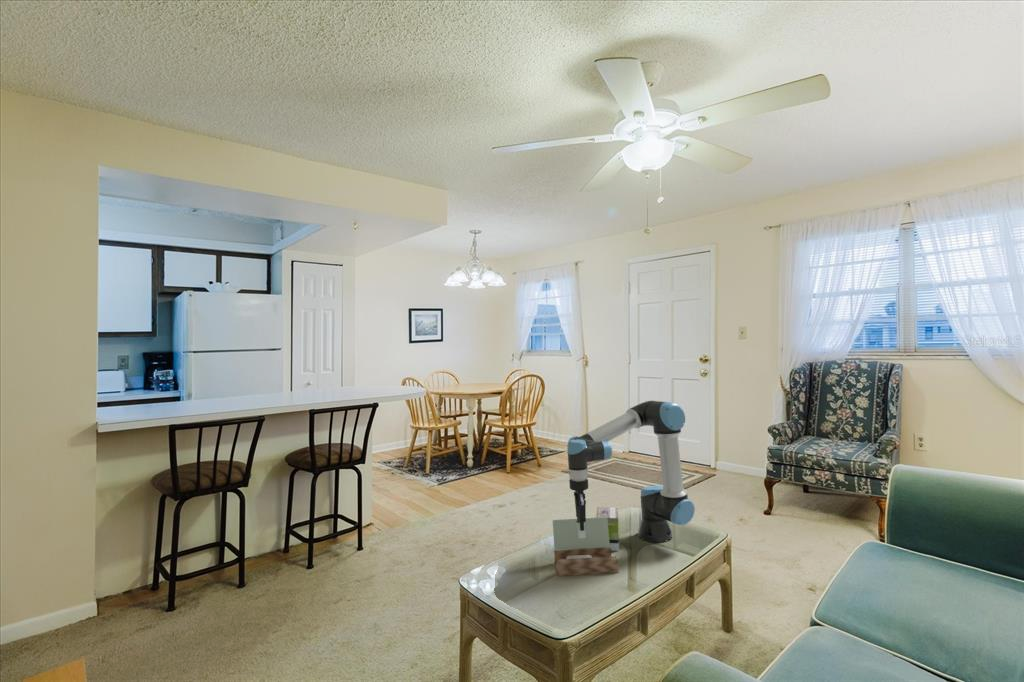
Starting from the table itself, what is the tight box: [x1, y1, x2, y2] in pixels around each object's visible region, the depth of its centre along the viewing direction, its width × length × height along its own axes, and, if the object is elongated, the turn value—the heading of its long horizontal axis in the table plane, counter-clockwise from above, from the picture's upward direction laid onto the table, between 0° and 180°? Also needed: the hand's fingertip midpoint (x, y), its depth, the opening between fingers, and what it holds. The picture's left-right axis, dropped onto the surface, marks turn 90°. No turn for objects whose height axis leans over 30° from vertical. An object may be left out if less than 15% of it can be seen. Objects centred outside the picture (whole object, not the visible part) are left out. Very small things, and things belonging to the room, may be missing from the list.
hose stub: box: [566, 555, 592, 559], centre depth 199 cm, size 11×3×3 cm, turn 93°
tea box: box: [595, 506, 620, 552], centre depth 219 cm, size 15×10×15 cm
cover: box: [552, 517, 610, 551], centre depth 204 cm, size 24×12×1 cm
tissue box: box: [553, 547, 619, 577], centre depth 196 cm, size 24×12×5 cm, turn 93°
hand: (582, 537), depth 193 cm, fingers closed
